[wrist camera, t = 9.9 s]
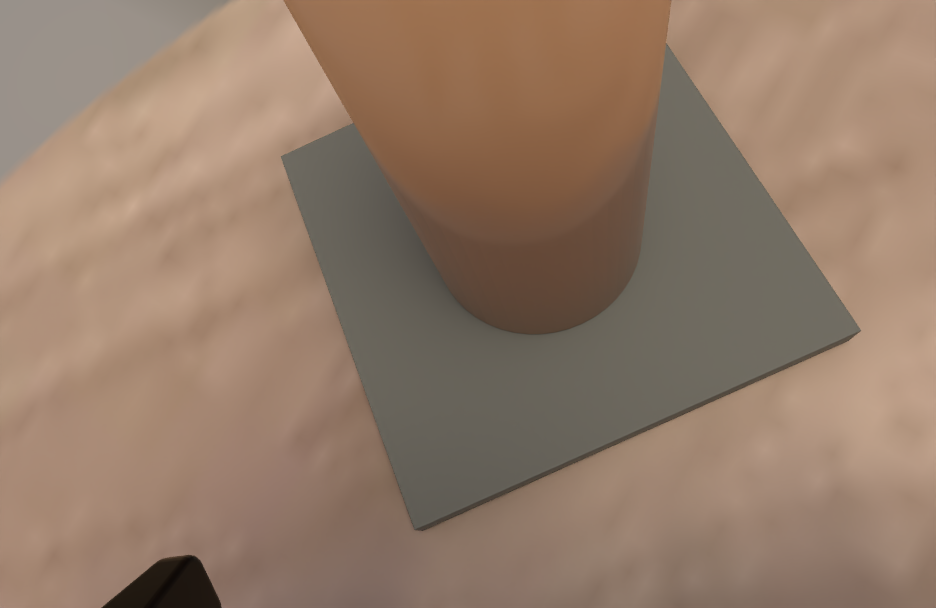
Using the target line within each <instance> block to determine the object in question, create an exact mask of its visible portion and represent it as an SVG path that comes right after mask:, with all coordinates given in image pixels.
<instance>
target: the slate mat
mask: <svg viewBox="0 0 936 608" xmlns="http://www.w3.org/2000/svg"><path fill="white" fill-rule="evenodd" d="M281 159H282V161H283V164H284V167H285V170H286V172H287V175H288V178H289V181H290V184H291V186H292V189H293V192H294V195H295V198H296V200H297V203H298V206H299V209H300V211H301V214H302V217H303V220H304V223H305V225H306V228H307V231H308V234H309V237H310V239H311V242H312V245H313V248H314V251H315V253H316V256H317V259H318V262H319V264H320V267H321V270H322V273H323V276H324V278H325V281H326V284H327V287H328V290H329V292H330V295H331V298H332V301H333V304H334V306H335V309H336V312H337V315H338V317H339V320H340V323H341V326H342V329H343V331H344V334H345V337H346V340H347V343H348V345H349V348H350V351H351V354H352V356H353V359H354V362H355V365H356V368H357V370H358V373H359V376H360V379H361V382H362V384H363V387H364V390H365V393H366V396H367V398H368V401H369V404H370V407H371V409H372V412H373V415H374V418H375V421H376V423H377V426H378V429H379V432H380V435H381V437H382V440H383V443H384V446H385V449H386V451H387V454H388V457H389V460H390V462H391V465H392V468H393V471H394V474H395V476H396V479H397V482H398V485H399V488H400V490H401V493H402V496H403V499H404V501H405V504H406V507H407V510H408V513H409V515H410V518H411V521H412V524H413V527H414V529H415V530H422V531H423V530H425V529H427V528H430V527H432V526H434V525H436V524H438V523H441V522H443V521H445V520H447V519H450V518H452V517H454V516H456V515H459V514H461V513H463V512H465V511H468V510H470V509H472V508H474V507H477V506H479V505H481V504H483V503H486V502H488V501H490V500H492V499H495V498H497V497H499V496H501V495H504V494H506V493H508V492H510V491H512V490H515V489H517V488H519V487H521V486H524V485H526V484H528V483H530V482H533V481H535V480H537V479H539V478H542V477H544V476H546V475H548V474H551V473H553V472H555V471H557V470H560V469H562V468H564V467H566V466H569V465H571V464H573V463H575V462H578V461H580V460H582V459H584V458H586V457H589V456H591V455H593V454H595V453H598V452H600V451H602V450H604V449H607V448H609V447H611V446H613V445H616V444H618V443H620V442H622V441H625V440H627V439H629V438H631V437H634V436H636V435H638V434H640V433H643V432H645V431H647V430H649V429H651V428H654V427H656V426H658V425H660V424H663V423H665V422H667V421H669V420H672V419H674V418H676V417H678V416H681V415H683V414H685V413H687V412H690V411H692V410H694V409H696V408H699V407H701V406H703V405H705V404H708V403H710V402H712V401H714V400H717V399H719V398H721V397H723V396H725V395H728V394H730V393H732V392H734V391H737V390H739V389H741V388H743V387H746V386H748V385H750V384H752V383H755V382H757V381H759V380H761V379H764V378H766V377H768V376H770V375H773V374H775V373H777V372H779V371H782V370H784V369H786V368H788V367H790V366H793V365H795V364H797V363H799V362H802V361H804V360H806V359H808V358H811V357H813V356H815V355H817V354H820V353H822V352H824V351H826V350H829V349H831V348H833V347H835V346H838V345H840V344H842V343H844V342H847V341H849V340H850V339H851V338H853V337H854V336H855V335H856V334H857V333H859V332H860V331H861V330H860V328H859V327H858V325H857V324H856V322H855V321H854V319H853V318H852V316H851V315H850V313H849V312H848V310H847V309H846V307H845V306H844V304H843V303H842V302H841V300H840V299H839V297H838V296H837V294H836V293H835V291H834V290H833V288H832V287H831V285H830V284H829V282H828V281H827V279H826V278H825V276H824V275H823V273H822V272H821V271H820V269H819V268H818V266H817V265H816V263H815V262H814V260H813V259H812V257H811V256H810V254H809V253H808V251H807V250H806V248H805V247H804V245H803V244H802V243H801V241H800V240H799V238H798V237H797V235H796V234H795V232H794V231H793V229H792V228H791V226H790V225H789V223H788V222H787V220H786V219H785V217H784V216H783V215H782V213H781V212H780V210H779V209H778V207H777V206H776V204H775V203H774V201H773V200H772V198H771V197H770V195H769V194H768V192H767V191H766V189H765V188H764V186H763V185H762V184H761V182H760V181H759V179H758V178H757V176H756V175H755V173H754V172H753V170H752V169H751V167H750V166H749V164H748V163H747V161H746V160H745V158H744V157H743V156H742V154H741V153H740V151H739V150H738V148H737V147H736V145H735V144H734V142H733V141H732V139H731V138H730V136H729V135H728V133H727V132H726V130H725V129H724V128H723V126H722V125H721V123H720V122H719V120H718V119H717V117H716V116H715V114H714V113H713V111H712V110H711V108H710V107H709V105H708V104H707V102H706V101H705V100H704V98H703V97H702V95H701V94H700V92H699V91H698V89H697V88H696V86H695V85H694V83H693V82H692V80H691V79H690V77H689V76H688V74H687V73H686V71H685V70H684V69H683V67H682V66H681V64H680V63H679V61H678V60H677V58H676V57H675V55H674V54H673V52H672V51H671V49H670V48H669V46H668V45H667V43H666V47H665V56H664V64H663V72H662V80H661V88H660V96H659V104H658V113H657V121H656V129H655V137H654V145H653V153H652V162H651V170H650V178H649V186H648V194H647V202H646V210H645V219H644V227H643V235H642V243H641V251H640V255H639V259H638V263H637V266H636V268H635V271H634V273H633V275H632V277H631V279H630V281H629V282H628V284H627V286H626V287H625V289H624V290H623V291H622V293H621V294H620V295H619V296H618V297H617V299H616V300H615V301H614V302H613V303H611V304H610V305H609V306H608V307H607V308H606V309H605V310H603V311H602V312H601V313H599V314H598V315H597V316H595V317H593V318H592V319H590V320H588V321H586V322H584V323H582V324H580V325H577V326H575V327H572V328H570V329H566V330H562V331H558V332H553V333H546V334H522V333H514V332H510V331H506V330H502V329H499V328H496V327H494V326H491V325H489V324H487V323H485V322H483V321H481V320H480V319H478V318H476V317H475V316H474V315H472V314H471V313H470V312H468V311H467V310H466V309H465V308H464V307H463V306H462V305H461V304H460V303H459V302H458V301H457V300H456V299H455V297H454V296H453V295H452V293H451V292H450V291H449V289H448V287H447V285H446V284H445V282H444V280H443V278H442V277H441V275H440V273H439V271H438V270H437V268H436V266H435V264H434V263H433V261H432V259H431V257H430V256H429V254H428V252H427V250H426V249H425V247H424V245H423V243H422V242H421V240H420V238H419V236H418V235H417V233H416V231H415V229H414V228H413V226H412V224H411V222H410V221H409V219H408V217H407V215H406V214H405V212H404V210H403V208H402V207H401V205H400V203H399V201H398V200H397V198H396V196H395V194H394V193H393V191H392V189H391V187H390V186H389V184H388V182H387V180H386V179H385V177H384V175H383V173H382V172H381V170H380V168H379V166H378V165H377V163H376V161H375V159H374V158H373V156H372V154H371V152H370V151H369V149H368V147H367V145H366V144H365V142H364V140H363V138H362V137H361V135H360V133H359V132H358V130H357V128H356V126H355V125H354V123H352V124H350V125H348V126H346V127H344V128H342V129H339V130H337V131H335V132H333V133H331V134H329V135H326V136H324V137H322V138H320V139H318V140H315V141H313V142H311V143H309V144H307V145H305V146H302V147H300V148H298V149H296V150H294V151H292V152H289V153H287V154H285V155H283V156H281Z"/></svg>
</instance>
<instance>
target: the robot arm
mask: <svg viewBox="0 0 936 608" xmlns="http://www.w3.org/2000/svg"><path fill="white" fill-rule="evenodd" d="M102 608H221V603H220V600H219V598H218V596H217V594H216V592H215V590H214V588H213V586H212V583H211V581H210V579H209V577H208V575H207V573H206V571H205V569H204V567H203V565H202V563H201V561H200V560H199V559H198V558H197V557H195V556H192V555H184V556H177V557H169V558H164V559H161V560H159V561H158V562H156V563H155V564H154V565H153V566H151V567H150V568H149V569H148V570H147V571H145V572H144V573H143V574H142V575H141V576H139V577H138V578H137V579H136V580H134V581H133V582H132V583H131V584H130V585H128V586H127V587H126V588H125V589H124V590H122V591H121V592H120V593H119V594H118V595H116V596H115V597H114V598H113V599H111V600H110V601H109V602H108V603H107V604H105V605H104V606H103V607H102Z"/></svg>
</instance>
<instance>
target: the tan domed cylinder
mask: <svg viewBox="0 0 936 608" xmlns="http://www.w3.org/2000/svg"><path fill="white" fill-rule="evenodd" d="M284 2H285V4H286V6H287V7H288V9H289V11H290V13H291V14H292V16H293V18H294V20H295V21H296V23H297V25H298V27H299V28H300V30H301V32H302V34H303V35H304V37H305V39H306V41H307V42H308V44H309V46H310V48H311V49H312V51H313V53H314V55H315V56H316V58H317V60H318V62H319V63H320V65H321V67H322V69H323V70H324V72H325V74H326V76H327V77H328V79H329V81H330V83H331V84H332V86H333V88H334V90H335V91H336V93H337V95H338V97H339V98H340V100H341V102H342V104H343V105H344V107H345V109H346V111H347V112H348V114H349V116H350V118H351V119H352V121H353V123H354V125H355V126H356V128H357V130H358V132H359V133H360V135H361V137H362V138H363V140H364V142H365V144H366V145H367V147H368V149H369V151H370V152H371V154H372V156H373V158H374V159H375V161H376V163H377V165H378V166H379V168H380V170H381V172H382V173H383V175H384V177H385V179H386V180H387V182H388V184H389V186H390V187H391V189H392V191H393V193H394V194H395V196H396V198H397V200H398V201H399V203H400V205H401V207H402V208H403V210H404V212H405V214H406V215H407V217H408V219H409V221H410V222H411V224H412V226H413V228H414V229H415V231H416V233H417V235H418V236H419V238H420V240H421V242H422V243H423V245H424V247H425V249H426V250H427V252H428V254H429V256H430V257H431V259H432V261H433V263H434V264H435V266H436V268H437V270H438V271H439V273H440V275H441V277H442V278H443V280H444V282H445V284H446V285H447V287H448V289H449V291H450V292H451V293H452V295H453V296H454V297H455V299H456V300H457V301H458V302H459V303H460V304H461V305H462V306H463V307H464V308H465V309H466V310H467V311H468V312H470V313H471V314H472V315H474V316H475V317H476V318H478V319H480V320H481V321H483V322H485V323H487V324H489V325H491V326H494V327H496V328H499V329H502V330H506V331H510V332H514V333H522V334H546V333H553V332H558V331H562V330H566V329H570V328H572V327H575V326H577V325H580V324H582V323H584V322H586V321H588V320H590V319H592V318H593V317H595V316H597V315H598V314H599V313H601V312H602V311H603V310H605V309H606V308H607V307H608V306H609V305H610V304H611V303H613V302H614V301H615V300H616V299H617V297H618V296H619V295H620V294H621V293H622V291H623V290H624V289H625V287H626V286H627V284H628V282H629V281H630V279H631V277H632V275H633V273H634V271H635V268H636V266H637V263H638V259H639V255H640V251H641V243H642V235H643V227H644V219H645V210H646V202H647V194H648V186H649V178H650V170H651V162H652V153H653V145H654V137H655V129H656V121H657V113H658V104H659V96H660V88H661V80H662V72H663V64H664V56H665V47H666V39H667V31H668V23H669V15H670V7H671V0H284Z"/></svg>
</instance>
